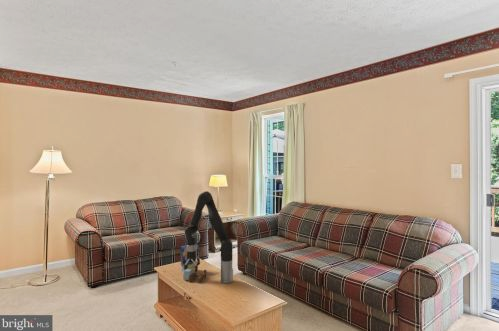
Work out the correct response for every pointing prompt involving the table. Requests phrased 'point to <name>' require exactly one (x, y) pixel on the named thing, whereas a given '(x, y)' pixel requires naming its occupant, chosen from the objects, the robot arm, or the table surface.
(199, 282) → the rack
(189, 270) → the block
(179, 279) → the table surface
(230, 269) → the robot arm
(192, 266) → the beverage box
